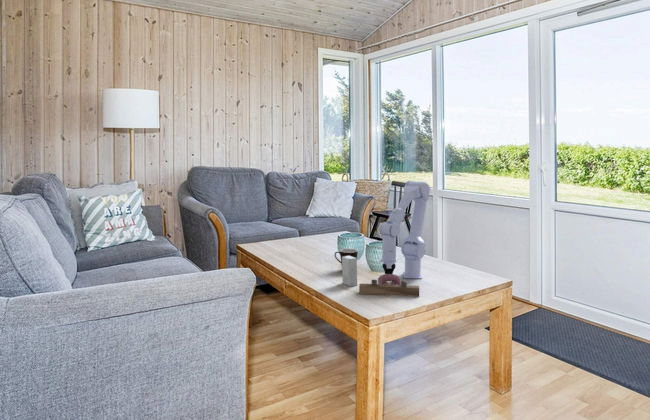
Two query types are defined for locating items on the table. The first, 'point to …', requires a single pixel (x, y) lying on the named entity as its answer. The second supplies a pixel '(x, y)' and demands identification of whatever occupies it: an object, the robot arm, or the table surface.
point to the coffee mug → (347, 253)
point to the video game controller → (389, 279)
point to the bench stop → (389, 289)
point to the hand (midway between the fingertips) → (388, 280)
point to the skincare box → (349, 270)
